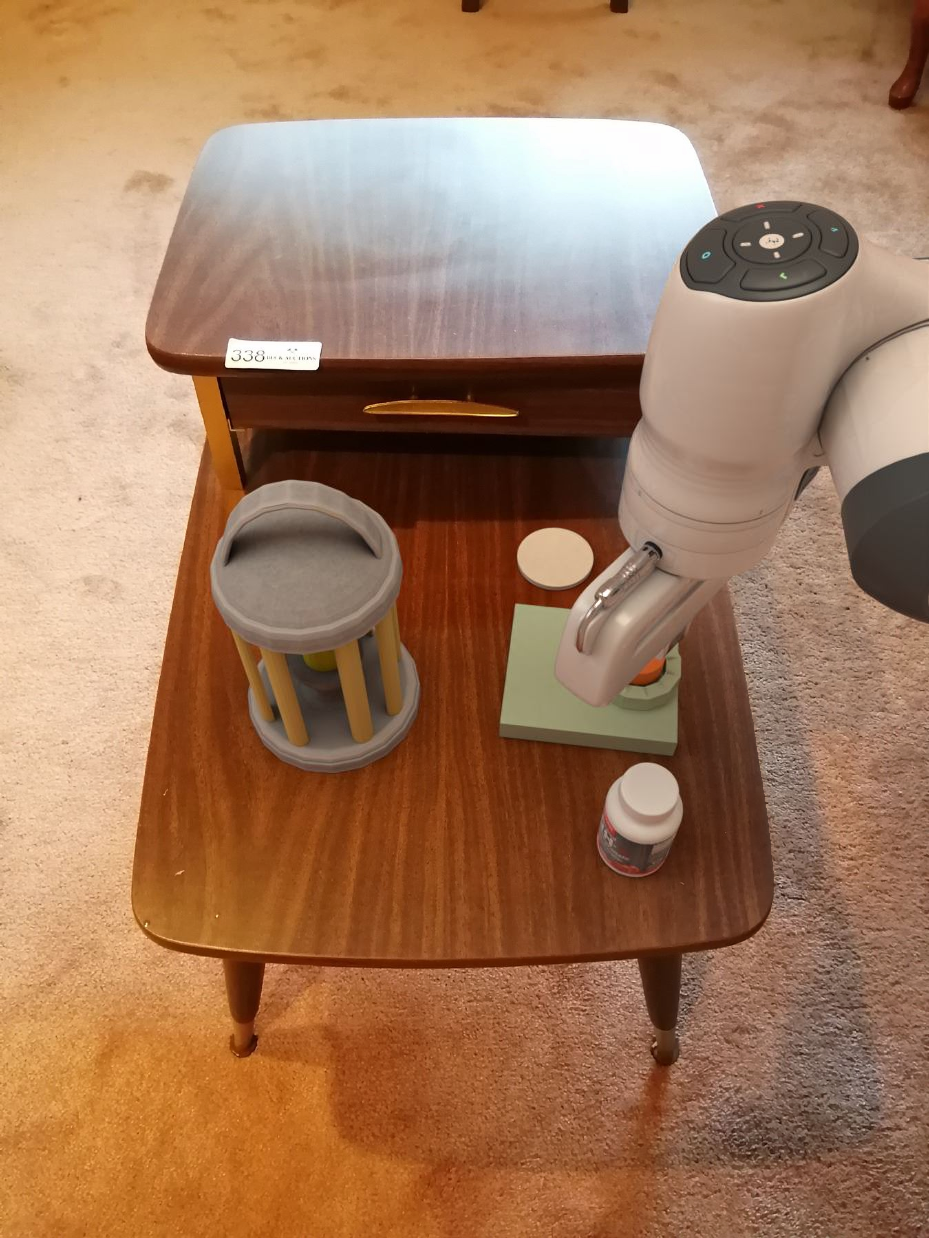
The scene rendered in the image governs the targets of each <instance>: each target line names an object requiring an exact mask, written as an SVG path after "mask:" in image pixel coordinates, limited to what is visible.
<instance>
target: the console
mask: <svg viewBox="0 0 929 1238" xmlns="http://www.w3.org/2000/svg"><path fill="white" fill-rule="evenodd" d="M571 609H572V608H562V607H555V606H554V607H553V606H543V605H532V604H523V603H515V604H514V611H513V619H512V627H511V635H510V642H509V649H508V650H509V651H508V658H507V665H506V673H505V681H504V687H503V695H502V703H501V711H500V719H499V732H498V733H499V735H498V737H501V738H508V739H509V738H510V739H520V740H527V741H535V742H536V741H537V742H544V743H554V744H563V745H571V746H580V747H589V748H597V749H607V750H616V751H625V752H634V753H643V754H651V755H659V756H668V757H673V756H674V754H675V751H676V748H677V746H678V736H679V735H678V731H679V730H678V729H679V728H678V726H679V725H678V722H679V721H678V717H679V716H678V715H679V713H678V712H679V684H680V681H681V678H682V656H681V655H680V654H679V642H678V643H677V644H676V645H675V646H674V648H673V649H672V650H671V651H670V652H669V653H668V654H667V655H666V656H665V661H664V665H663V668H662V672H661V674H660V676H659V677H658V678H657V679H656V680H655V681H654V682H652V683H650V684H647V685H633V684H628V685H627V686H626V687H625V688H624V690H623V691H622V692H621V693H620V694H619V695H618V696H617V697H616V698H615V699H614V700H613V701H612V702H611V703H610V704H609V705H608V706H606V707H602V708H599V707H593V706H591V705H589V704H587V703H585V702H584V701H582V700H581V699H579V698H578V697H576V696H575V695H574V694H572V693H571V692H570V691H569V690H567V689H566V688H565V687H564V686H563V685H561V684H560V683H559V681H558V680H557V679H556V677H555V674H554V668H555V662H556V658H557V653H558V649H559V645H560V641H561V637H562V634H563V630H564V627H565V624H566V621H567V618H568V616H569V613H570V611H571Z"/></svg>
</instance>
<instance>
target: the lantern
mask: <svg viewBox="0 0 929 1238" xmlns="http://www.w3.org/2000/svg"><path fill="white" fill-rule="evenodd" d="M401 556H402V555H401V553H400V547H399V544H398V540H397V536H396V535H395V533H394V532H393V530H392V529H391V528H390V526H389V525H388V523H387V522H386V520H385V519H384V517H382V515H380V514H379V513H378V512H377V511H375V510H374V509H373V508H371V507H370V506H368V505H366V504H365V503H363V502H362V501H361V500H359V499H356V498H352V497H351V496H349V495H347V494H346V493H345V492H343V491H341V490H339V489H336V488H333V487H330V486H328V485H325V484H323V483H320V482H317V481H308V480H299V479H298V480H297V479H287V480H282V481H276V482H271V483H267V484H264V485H262V486H261V485H260V487H258V488H256V489H255V490H253V491H251V492H249V493H248V494H246V495H245V496H243V497H242V498H241V499H240V500H239V502H238V503H237V504H236V506H235V507H234V508H233V509H232V510H231V512H230V514H229V516H228V518H227V521H226V524H225V528H224V532H223V535H222V536H221V538H220V539H219V540H218V542H217V545H216V548H215V551H214V554H213V556H212V560H211V563H210V566H209V571H210V572H209V573H210V588H211V595H212V599H213V602H214V603H215V604H214V605H215V606H216V608H217V610H218V612H219V614H220V615H221V617H222V619H223V621H224V623H225V624H226V626H227V627H228V628H229V629H230V631H231V634H232V637H233V639H234V643H235V646H236V649H237V651H238V654H239V657H240V660H241V662H242V663H241V664H242V665H243V668H244V671H245V674H246V676H247V680H248V682H249V687H248V692H247V699H248V710H249V717H250V720H251V723H252V726H253V727H254V729H255V731H256V733H257V735H258V737H259V739H260V740H261V742H262V744H263V746H264V747H266V748H267V750H269V751H270V752H271V753H272V754H273V755H275V757H277V758H278V759H279V760H280V761H282V762H283V763H286V764H289V765H291V766H293V767H296V768H298V769H300V770H303V771H305V772H313V773H314V772H315V773H326V774H338V773H342V772H348V771H353V770H359V769H362V768H364V767H366V766H368V765H370V764H372V763H374V762H376V761H378V760H380V759H382V758H384V757H386V756H387V755H388V754H390V752H392V750H394V749H395V748H396V747H397V746H398V745H399V744H400V743H401V742H402V741H403V740H404V739H405V738H406V737H407V735H408V733H409V731H410V729H411V727H412V726H413V724H414V722H415V721H416V718H417V716H418V711H419V704H420V699H421V684H420V683H421V682H420V679H419V674H418V671H417V665H416V661H415V660H414V659H413V657H412V655H411V654H410V652H409V651H408V649H407V648H406V646H405V645H404V644H403V642H401V635H400V627H399V619H398V618H399V617H398V610H397V609H398V608H397V598H398V597H399V595H400V590H401V585H402V580H403V575H404V574H403V573H404V568H403V561H402V557H401ZM251 645H254V646H255V647H258V648H259V651H260V655H261V659H260V660H259V662H258V663H257V661H256V657H255V655H254V651H253V649H252V646H251Z"/></svg>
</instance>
